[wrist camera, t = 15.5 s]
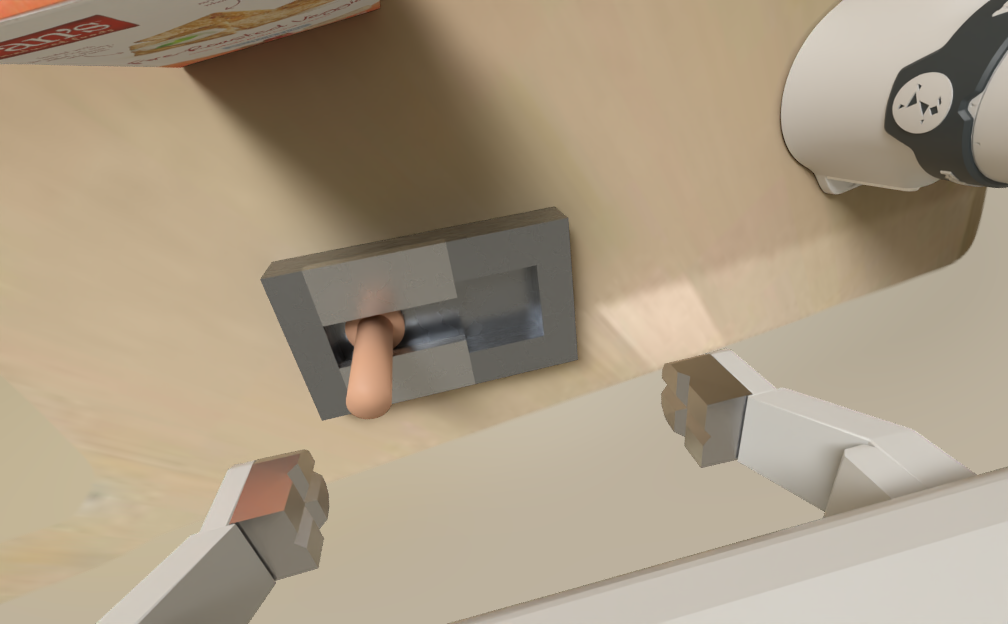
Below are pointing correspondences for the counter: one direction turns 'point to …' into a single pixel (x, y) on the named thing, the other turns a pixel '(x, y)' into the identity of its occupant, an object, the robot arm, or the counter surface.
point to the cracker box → (154, 28)
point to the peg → (372, 362)
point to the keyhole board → (434, 305)
